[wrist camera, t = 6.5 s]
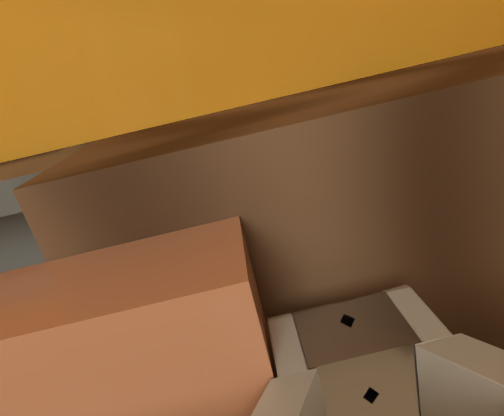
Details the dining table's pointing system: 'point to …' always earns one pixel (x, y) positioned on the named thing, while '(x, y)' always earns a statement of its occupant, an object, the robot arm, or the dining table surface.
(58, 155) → the bin
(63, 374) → the terracotta tile
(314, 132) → the block
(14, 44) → the dining table surface
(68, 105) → the dining table surface
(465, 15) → the dining table surface
